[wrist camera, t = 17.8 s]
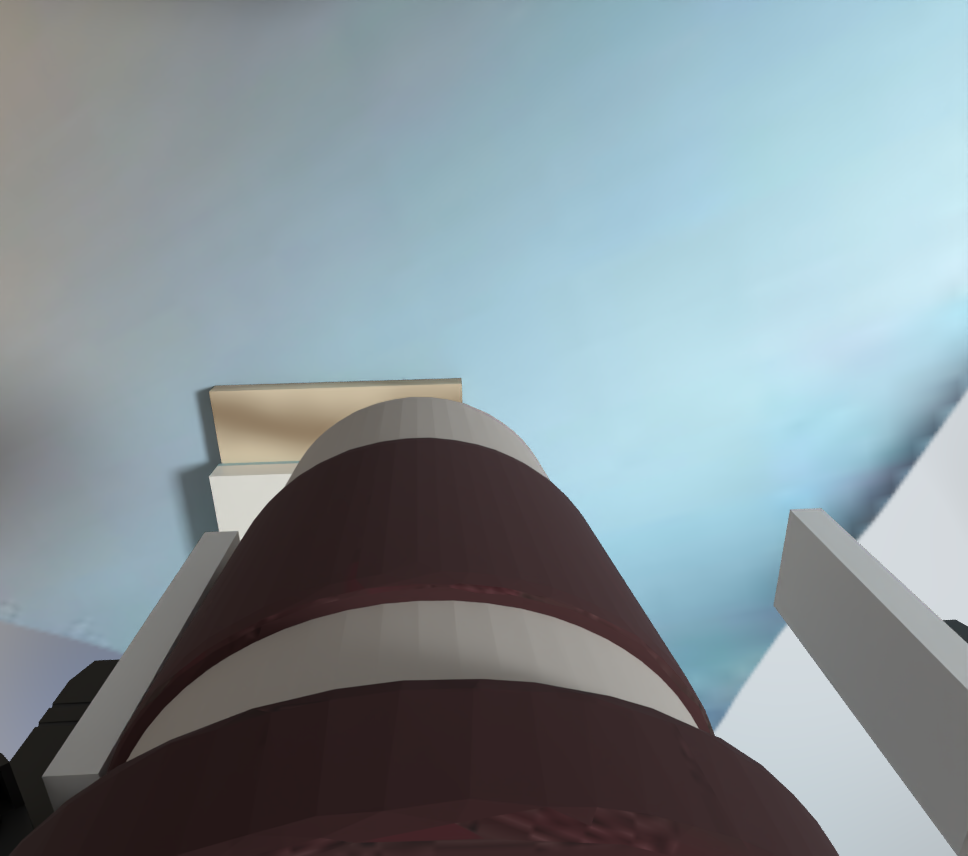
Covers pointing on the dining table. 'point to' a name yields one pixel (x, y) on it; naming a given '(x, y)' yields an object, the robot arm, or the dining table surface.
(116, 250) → the dining table surface
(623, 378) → the dining table surface
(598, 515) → the dining table surface
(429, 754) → the coffee cup
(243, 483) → the tile
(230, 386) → the board
